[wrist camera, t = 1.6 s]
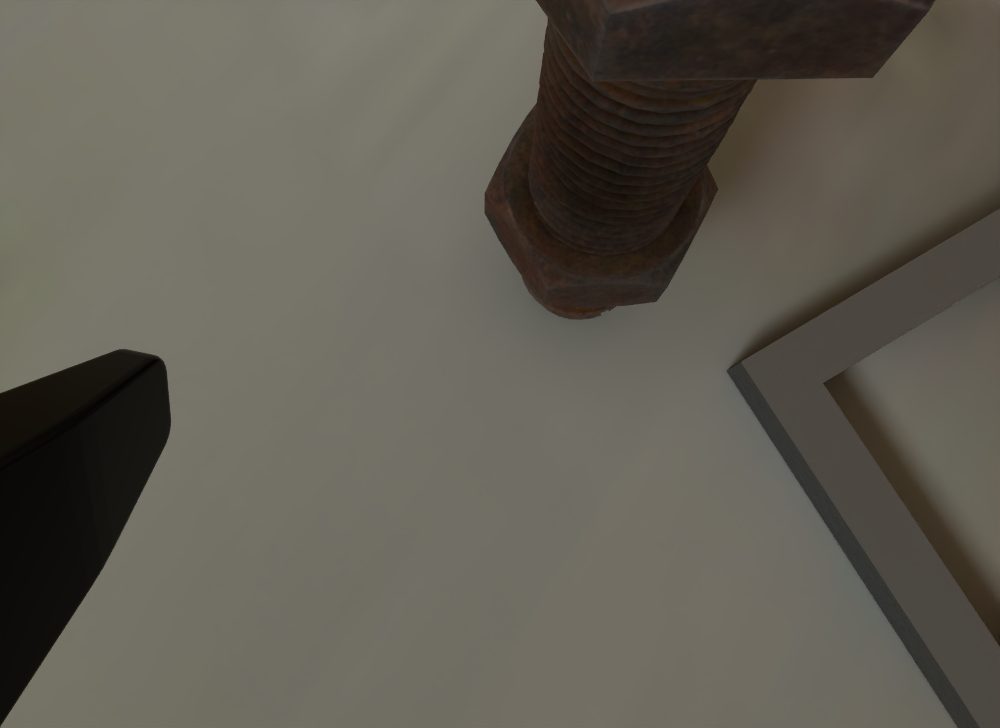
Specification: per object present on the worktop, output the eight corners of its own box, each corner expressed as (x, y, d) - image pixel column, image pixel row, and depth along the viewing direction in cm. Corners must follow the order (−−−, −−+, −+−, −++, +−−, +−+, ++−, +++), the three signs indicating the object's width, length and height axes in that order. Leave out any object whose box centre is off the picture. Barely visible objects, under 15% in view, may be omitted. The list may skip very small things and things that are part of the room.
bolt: (471, 359, 21) (443, -13, 7) (467, 183, 22) (436, -474, 8) (687, 354, 22) (1123, -22, 7) (674, 179, 23) (1028, -473, 8)
